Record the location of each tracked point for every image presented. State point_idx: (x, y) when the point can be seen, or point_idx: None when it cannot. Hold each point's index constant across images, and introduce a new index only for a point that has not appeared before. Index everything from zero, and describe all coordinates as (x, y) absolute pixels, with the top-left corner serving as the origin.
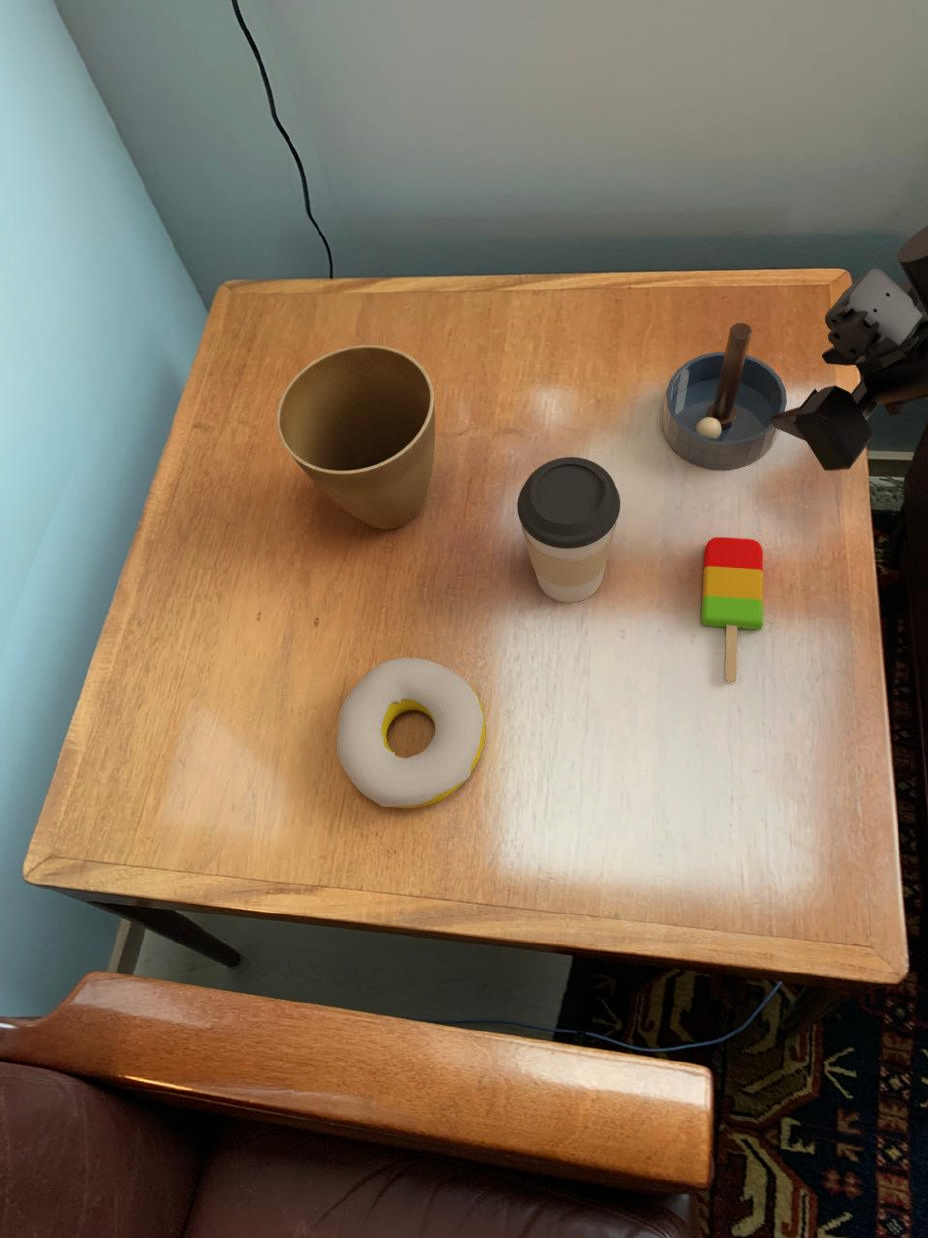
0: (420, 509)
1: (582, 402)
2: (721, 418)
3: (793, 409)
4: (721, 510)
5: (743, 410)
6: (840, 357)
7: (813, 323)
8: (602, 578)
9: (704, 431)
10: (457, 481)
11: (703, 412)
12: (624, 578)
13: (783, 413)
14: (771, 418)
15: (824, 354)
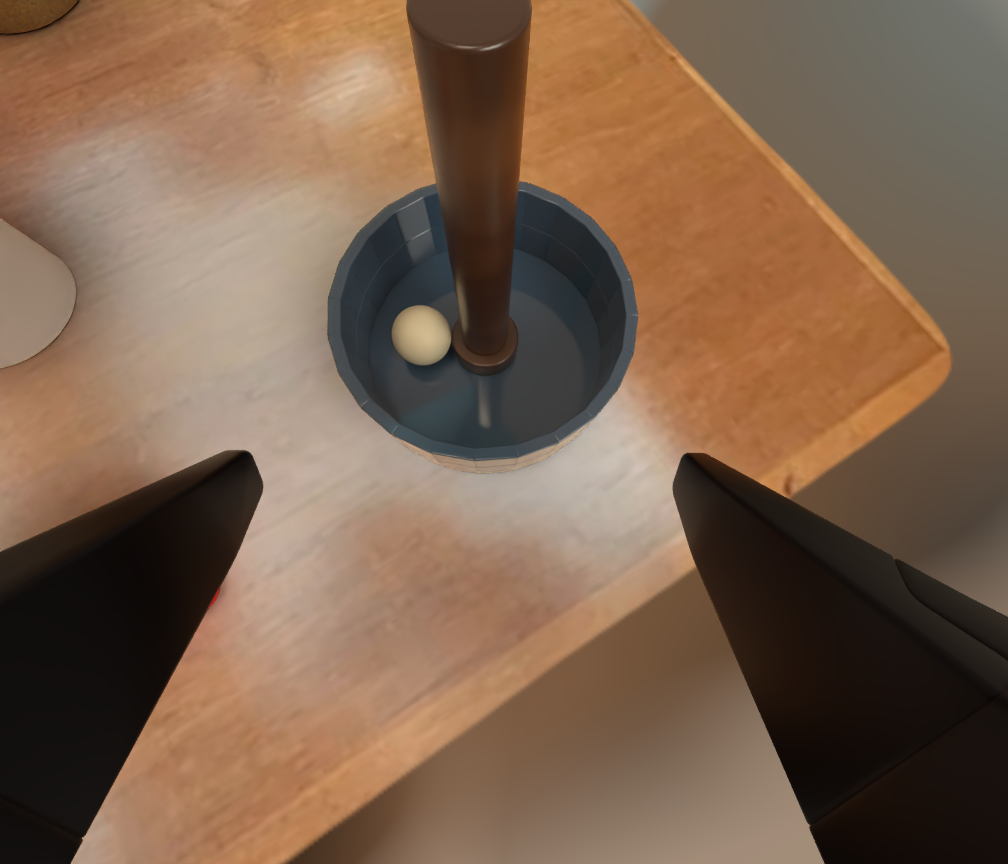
0: (6, 23)
1: (388, 124)
2: (464, 342)
3: (58, 557)
4: (287, 473)
5: (534, 373)
6: (713, 542)
7: (835, 376)
8: (1, 363)
9: (394, 327)
10: (114, 50)
11: None
12: (34, 399)
13: (152, 498)
14: (217, 454)
15: (689, 462)
